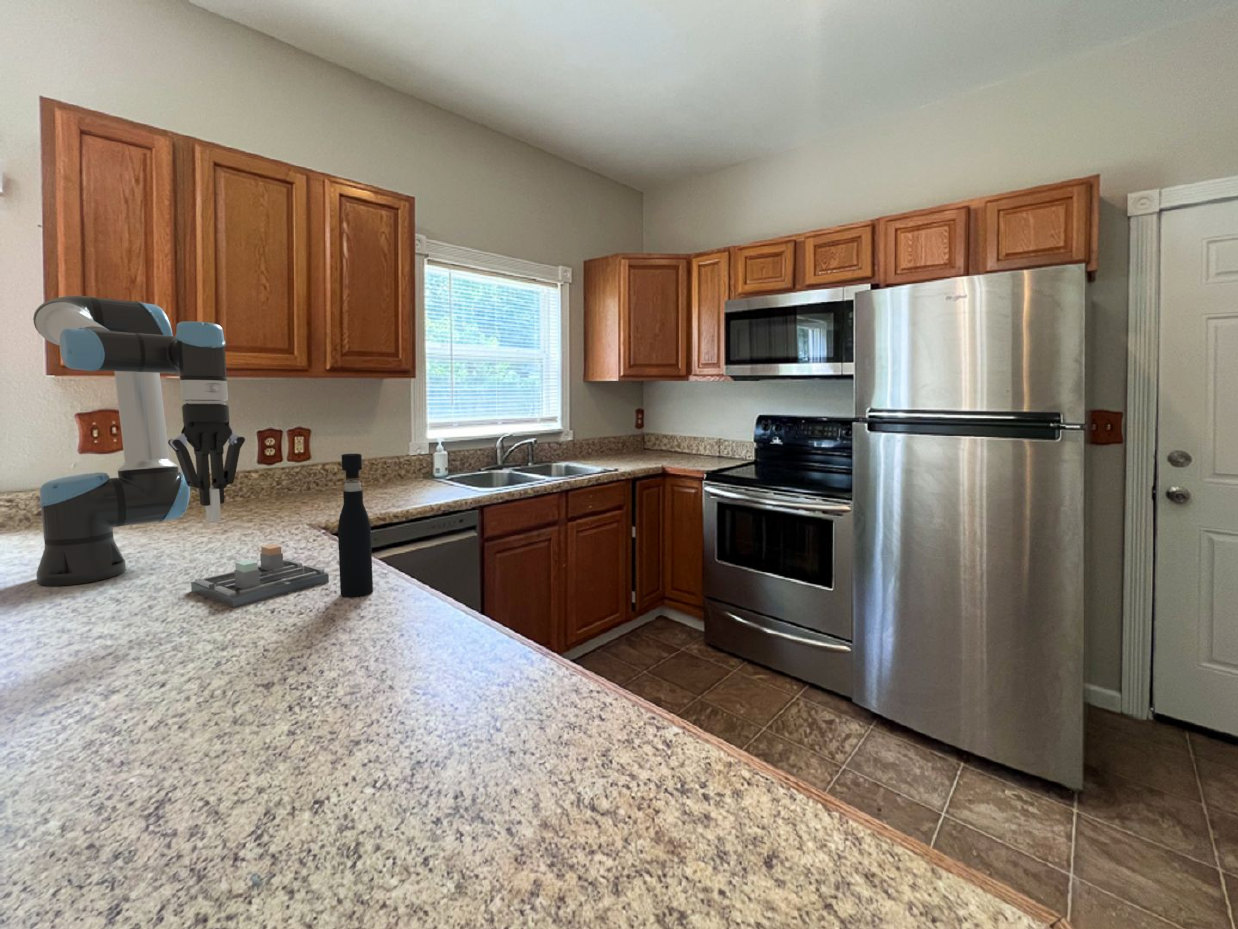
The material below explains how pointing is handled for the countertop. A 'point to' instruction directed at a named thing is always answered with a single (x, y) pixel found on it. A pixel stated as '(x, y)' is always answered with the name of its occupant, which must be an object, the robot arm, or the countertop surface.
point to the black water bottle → (354, 535)
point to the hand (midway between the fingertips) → (213, 520)
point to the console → (270, 584)
